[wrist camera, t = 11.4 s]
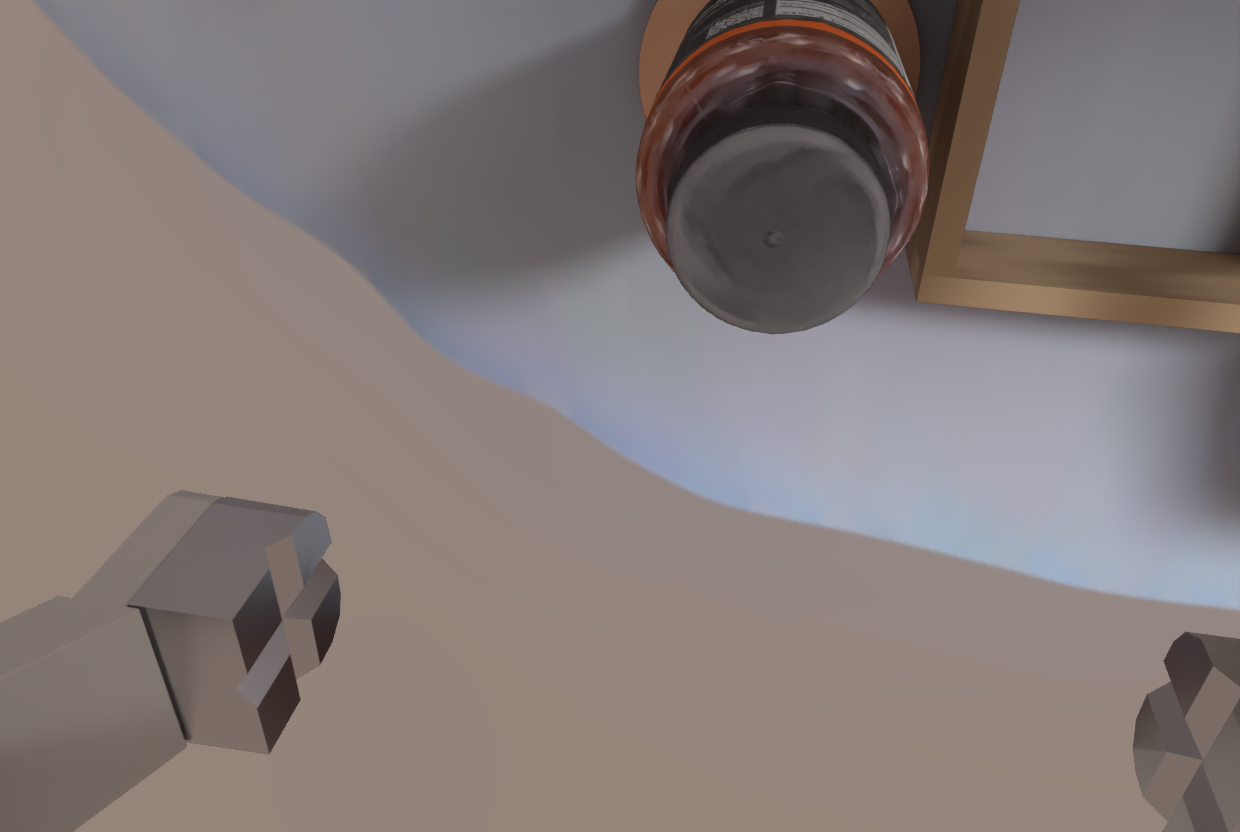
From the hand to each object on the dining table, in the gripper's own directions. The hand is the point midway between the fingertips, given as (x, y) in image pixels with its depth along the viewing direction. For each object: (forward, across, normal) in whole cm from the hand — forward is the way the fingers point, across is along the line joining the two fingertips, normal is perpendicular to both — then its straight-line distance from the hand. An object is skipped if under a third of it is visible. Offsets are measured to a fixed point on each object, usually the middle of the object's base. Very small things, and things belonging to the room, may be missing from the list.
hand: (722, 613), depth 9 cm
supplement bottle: (+21, 0, 0) cm, 21 cm away
